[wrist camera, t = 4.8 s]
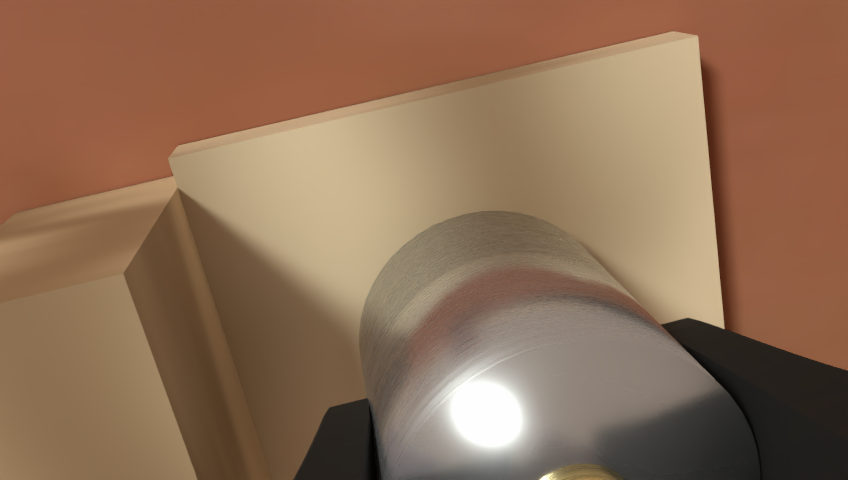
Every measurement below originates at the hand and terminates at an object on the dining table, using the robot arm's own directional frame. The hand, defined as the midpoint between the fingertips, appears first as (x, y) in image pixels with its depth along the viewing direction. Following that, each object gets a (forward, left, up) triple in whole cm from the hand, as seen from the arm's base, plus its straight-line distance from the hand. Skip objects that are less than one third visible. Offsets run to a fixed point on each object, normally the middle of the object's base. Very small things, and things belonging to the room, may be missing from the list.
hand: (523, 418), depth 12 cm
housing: (0, 0, -2) cm, 2 cm away
